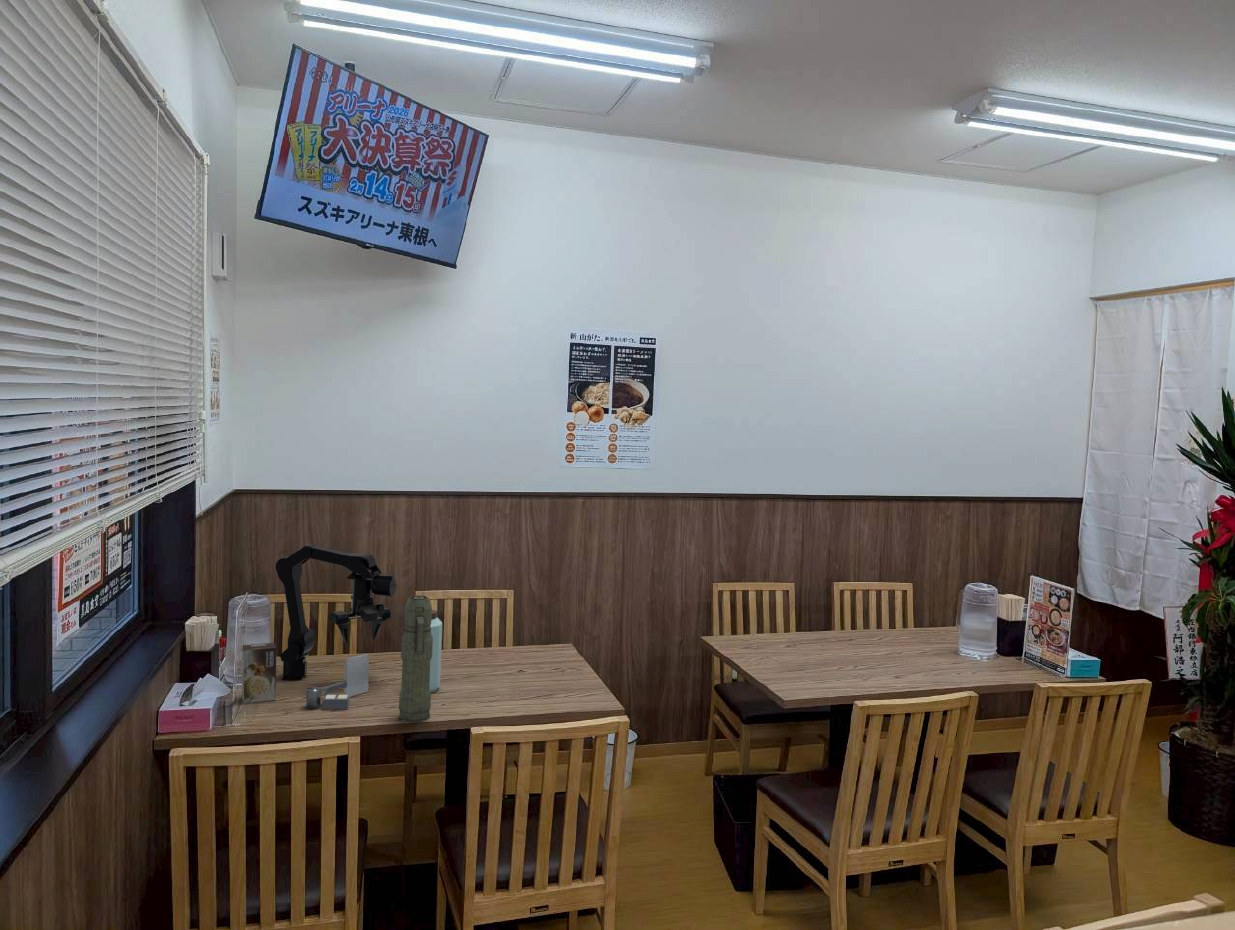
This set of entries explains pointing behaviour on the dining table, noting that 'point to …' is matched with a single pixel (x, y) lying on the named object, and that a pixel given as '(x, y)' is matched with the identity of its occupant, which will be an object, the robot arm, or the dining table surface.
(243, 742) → the dining table surface
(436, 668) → the water bottle
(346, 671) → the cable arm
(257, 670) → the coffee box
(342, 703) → the block
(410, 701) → the thermos
